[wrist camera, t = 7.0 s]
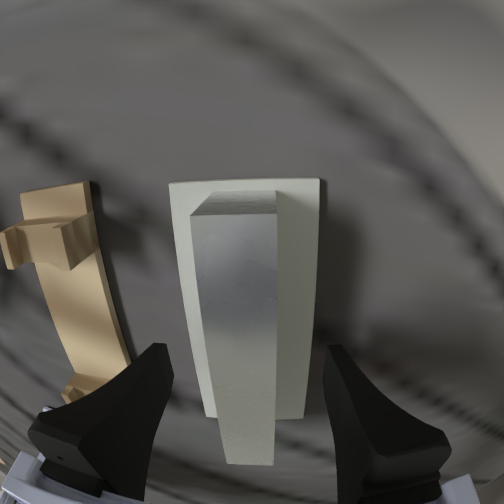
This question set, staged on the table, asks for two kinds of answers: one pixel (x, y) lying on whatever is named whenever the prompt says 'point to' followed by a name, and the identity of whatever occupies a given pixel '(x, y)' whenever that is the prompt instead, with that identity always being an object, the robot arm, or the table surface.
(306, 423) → the table surface
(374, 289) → the table surface
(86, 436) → the robot arm
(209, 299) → the rail
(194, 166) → the table surface
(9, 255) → the rack
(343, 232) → the table surface
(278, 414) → the mat
